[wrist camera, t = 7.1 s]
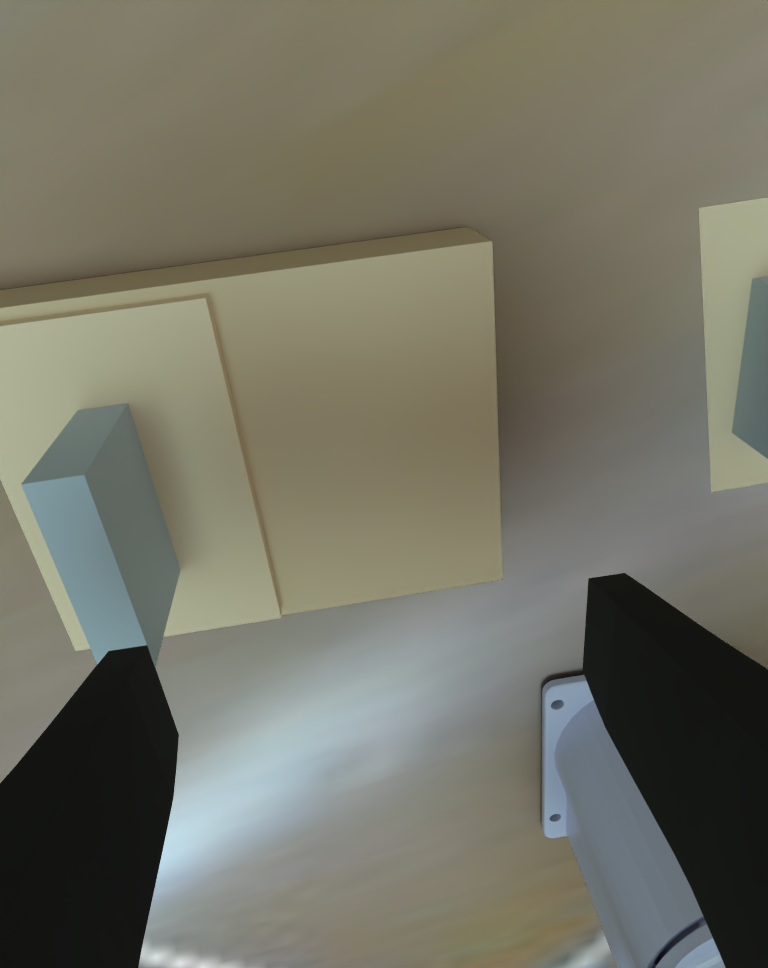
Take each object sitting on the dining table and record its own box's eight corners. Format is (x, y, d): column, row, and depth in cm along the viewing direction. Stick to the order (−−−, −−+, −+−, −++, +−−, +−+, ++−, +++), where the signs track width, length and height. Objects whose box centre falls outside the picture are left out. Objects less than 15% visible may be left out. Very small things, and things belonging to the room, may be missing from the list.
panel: (483, 536, 23) (502, 579, 21) (98, 596, 22) (77, 648, 20) (468, 226, 18) (492, 241, 16) (-22, 292, 18) (-68, 317, 15)
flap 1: (281, 607, 20) (277, 717, 16) (80, 639, 20) (30, 759, 16) (207, 292, 16) (180, 346, 12) (-53, 328, 15) (-166, 395, 12)
